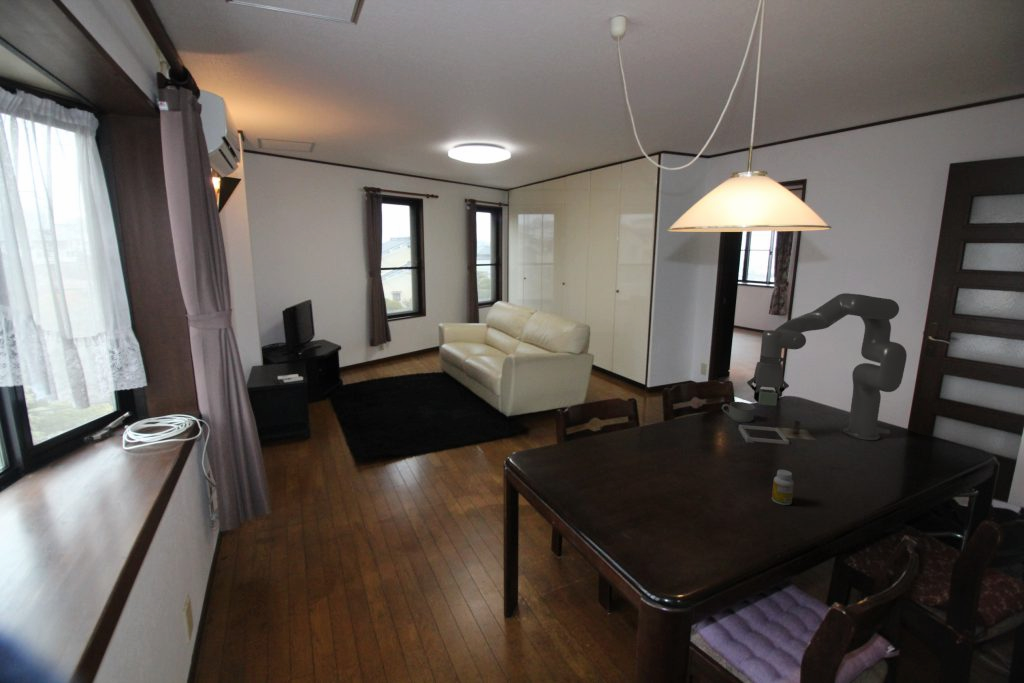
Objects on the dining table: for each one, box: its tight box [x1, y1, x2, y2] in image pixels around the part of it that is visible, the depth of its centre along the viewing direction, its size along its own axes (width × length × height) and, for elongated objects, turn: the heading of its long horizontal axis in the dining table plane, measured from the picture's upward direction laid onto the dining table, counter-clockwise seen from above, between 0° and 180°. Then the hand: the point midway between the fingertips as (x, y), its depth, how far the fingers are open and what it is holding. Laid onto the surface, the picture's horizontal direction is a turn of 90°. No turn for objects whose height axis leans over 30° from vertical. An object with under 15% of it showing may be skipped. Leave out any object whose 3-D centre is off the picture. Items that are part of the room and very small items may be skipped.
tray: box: [738, 424, 790, 445], centre depth 193 cm, size 16×16×2 cm
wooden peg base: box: [776, 420, 817, 441], centre depth 195 cm, size 12×12×6 cm
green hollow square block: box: [757, 388, 778, 407], centre depth 190 cm, size 6×6×5 cm
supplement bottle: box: [771, 469, 795, 506], centre depth 141 cm, size 5×5×10 cm
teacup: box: [721, 401, 756, 424], centre depth 213 cm, size 14×11×8 cm
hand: (765, 401), depth 191 cm, fingers closed on green hollow square block, 6 cm apart
